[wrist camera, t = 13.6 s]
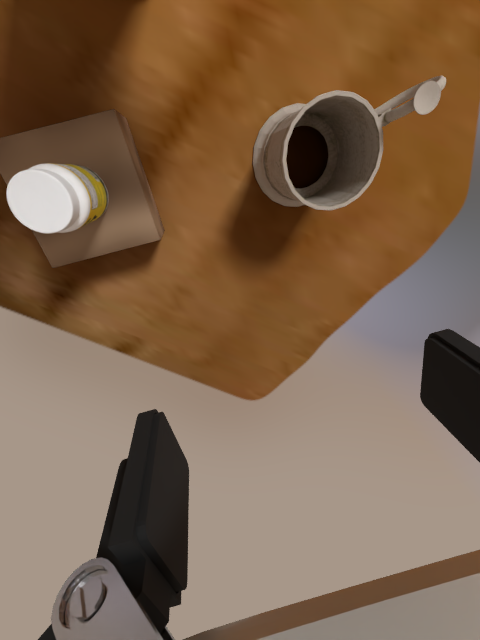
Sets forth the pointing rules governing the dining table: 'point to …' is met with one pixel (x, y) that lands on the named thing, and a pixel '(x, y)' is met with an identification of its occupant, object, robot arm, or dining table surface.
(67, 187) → the supplement bottle
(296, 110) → the mug
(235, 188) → the dining table surface
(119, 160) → the walnut block
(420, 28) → the dining table surface
